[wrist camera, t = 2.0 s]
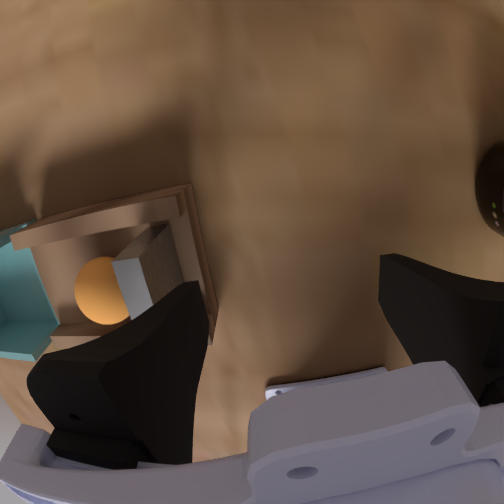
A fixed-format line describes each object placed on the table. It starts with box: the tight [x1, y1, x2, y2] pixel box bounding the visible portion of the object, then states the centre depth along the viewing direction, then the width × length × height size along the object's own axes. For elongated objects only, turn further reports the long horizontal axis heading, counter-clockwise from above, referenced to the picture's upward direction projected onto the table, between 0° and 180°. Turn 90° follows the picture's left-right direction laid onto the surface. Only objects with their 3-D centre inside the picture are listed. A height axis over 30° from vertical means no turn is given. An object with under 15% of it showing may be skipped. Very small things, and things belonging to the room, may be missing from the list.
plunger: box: [111, 224, 184, 320], centre depth 14 cm, size 1×5×4 cm, turn 9°
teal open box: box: [0, 219, 60, 362], centre depth 16 cm, size 8×8×5 cm
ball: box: [74, 256, 129, 324], centre depth 14 cm, size 4×4×4 cm
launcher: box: [10, 183, 219, 349], centre depth 16 cm, size 11×8×4 cm
